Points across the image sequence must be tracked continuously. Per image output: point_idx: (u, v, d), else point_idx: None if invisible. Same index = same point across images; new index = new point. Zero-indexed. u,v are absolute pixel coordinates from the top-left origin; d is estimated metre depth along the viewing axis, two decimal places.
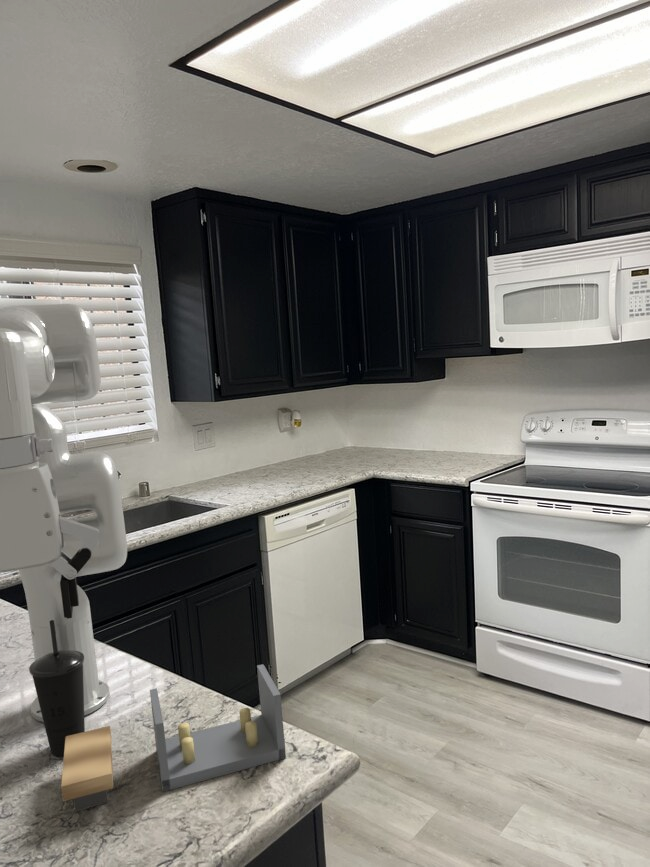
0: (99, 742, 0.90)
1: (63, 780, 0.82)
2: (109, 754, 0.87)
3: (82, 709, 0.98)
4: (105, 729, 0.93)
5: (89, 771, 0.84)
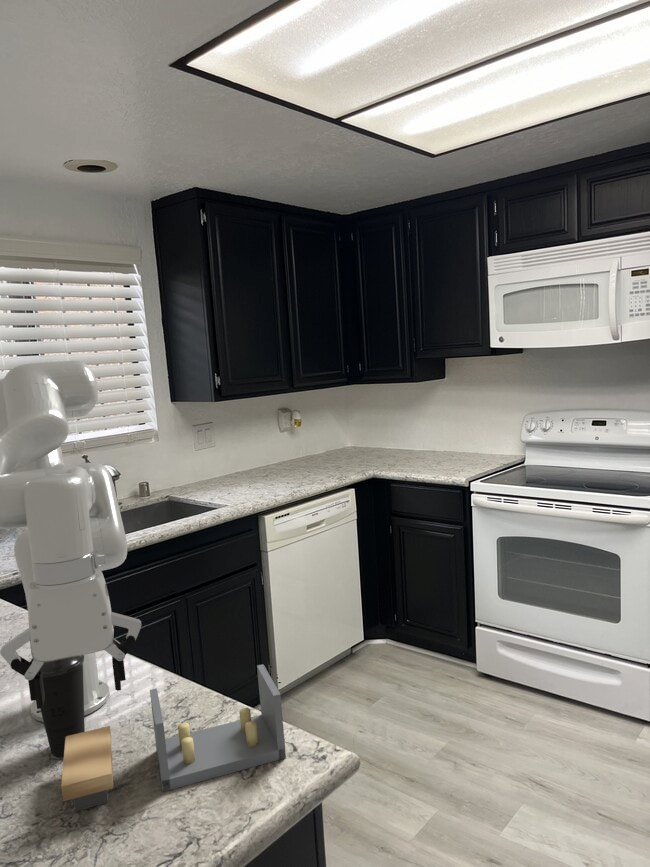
0: (99, 742, 0.90)
1: (63, 780, 0.82)
2: (109, 754, 0.87)
3: (82, 709, 0.98)
4: (105, 729, 0.93)
5: (89, 771, 0.84)
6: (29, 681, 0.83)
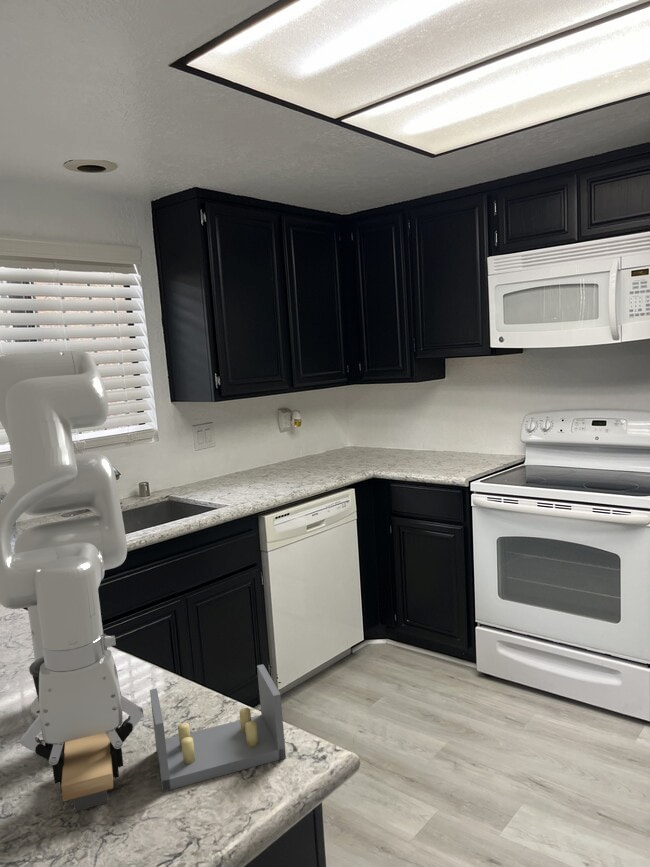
0: (99, 742, 0.90)
1: (63, 780, 0.82)
2: (109, 754, 0.87)
3: None
4: None
5: (89, 771, 0.84)
6: (53, 765, 0.86)
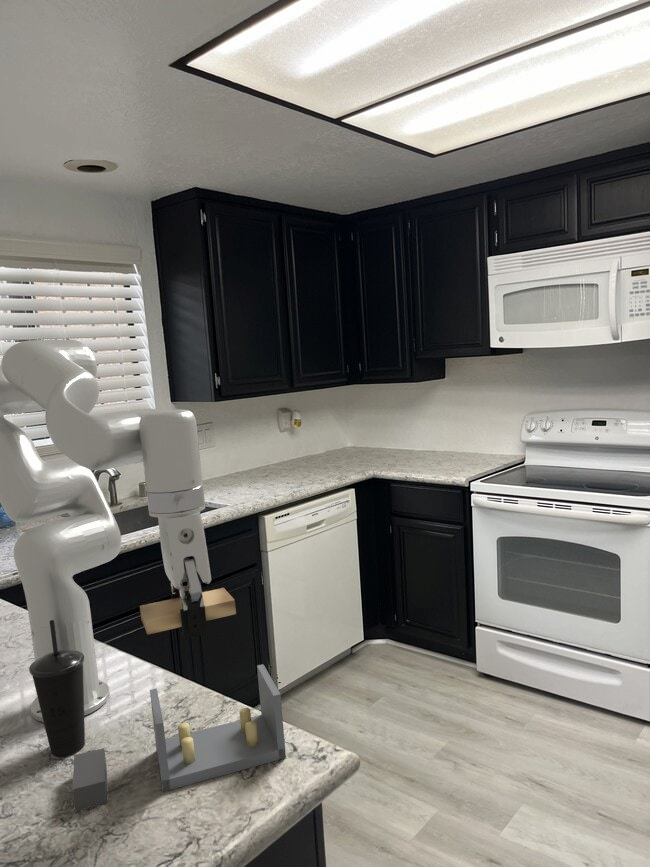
0: (205, 602, 0.90)
1: (148, 604, 0.91)
2: (179, 611, 0.87)
3: (82, 709, 0.98)
4: (228, 599, 0.90)
5: (156, 610, 0.88)
6: None
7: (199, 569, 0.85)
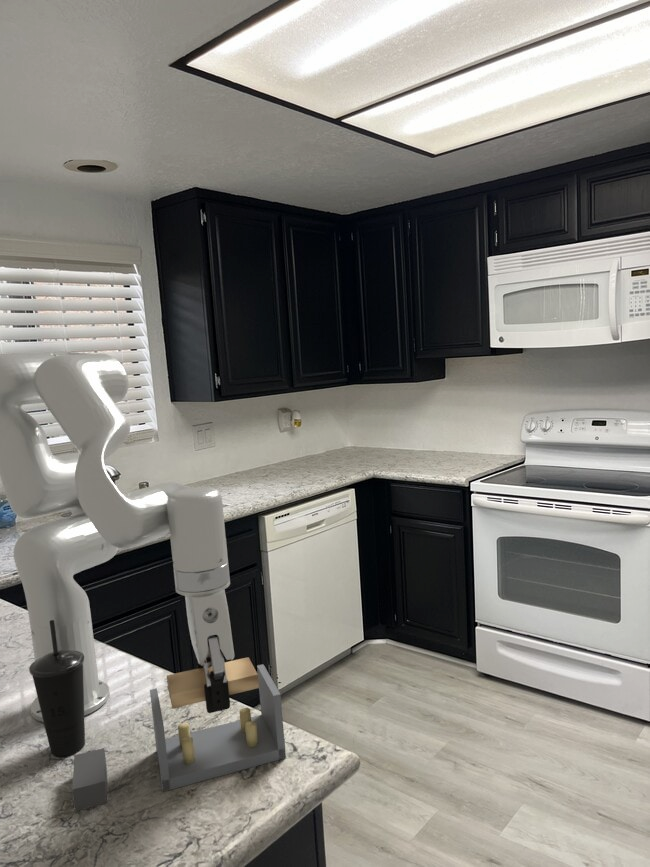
0: (229, 676, 0.92)
1: (175, 674, 0.94)
2: (203, 686, 0.89)
3: (82, 709, 0.98)
4: (251, 673, 0.92)
5: (182, 682, 0.91)
6: None
7: (222, 647, 0.87)
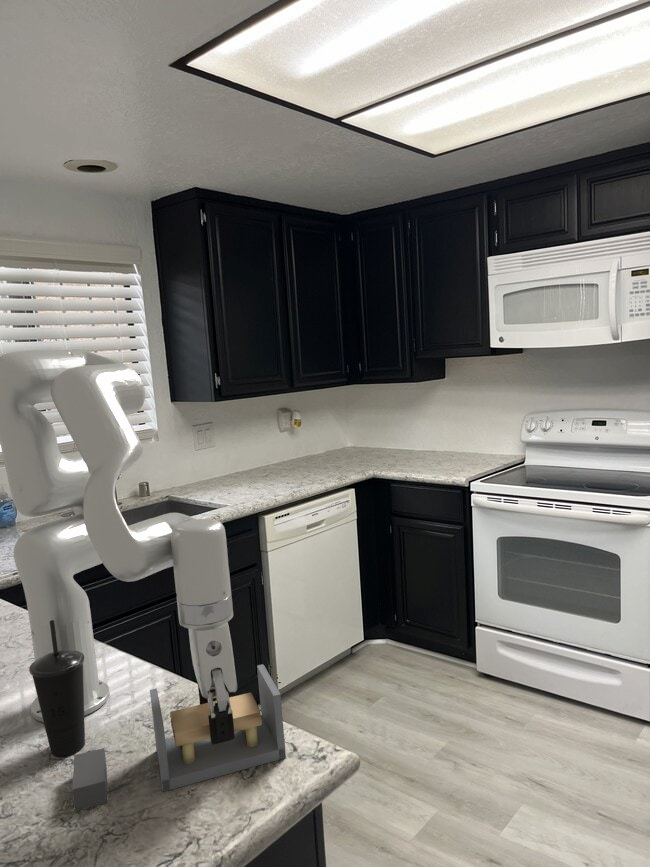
0: None
1: (178, 710, 0.94)
2: (207, 724, 0.90)
3: (82, 709, 0.98)
4: (254, 710, 0.93)
5: (185, 720, 0.91)
6: None
7: (226, 680, 0.88)
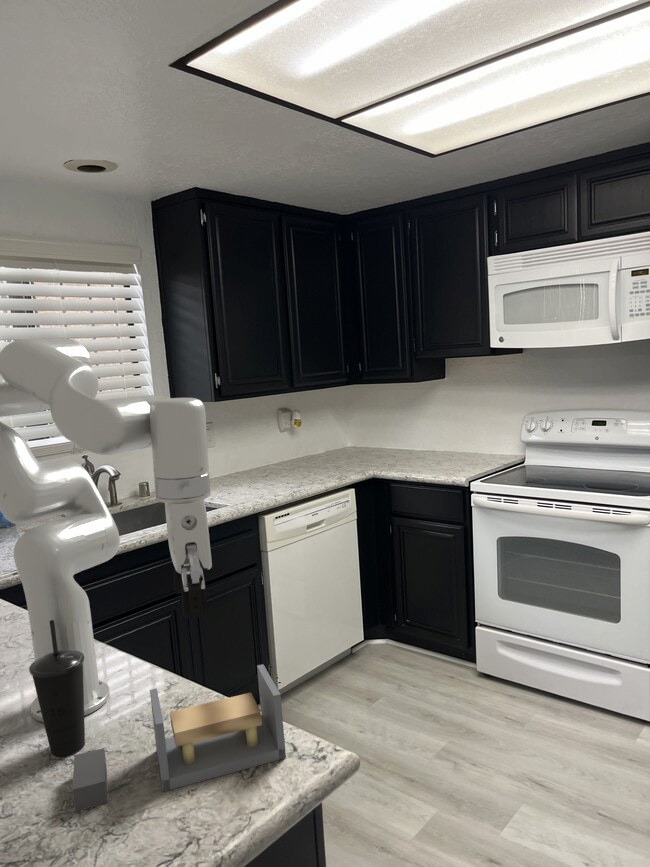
0: (232, 713, 0.92)
1: (178, 710, 0.94)
2: (207, 724, 0.90)
3: (82, 709, 0.98)
4: (254, 710, 0.93)
5: (185, 720, 0.91)
6: None
7: (200, 555, 0.88)
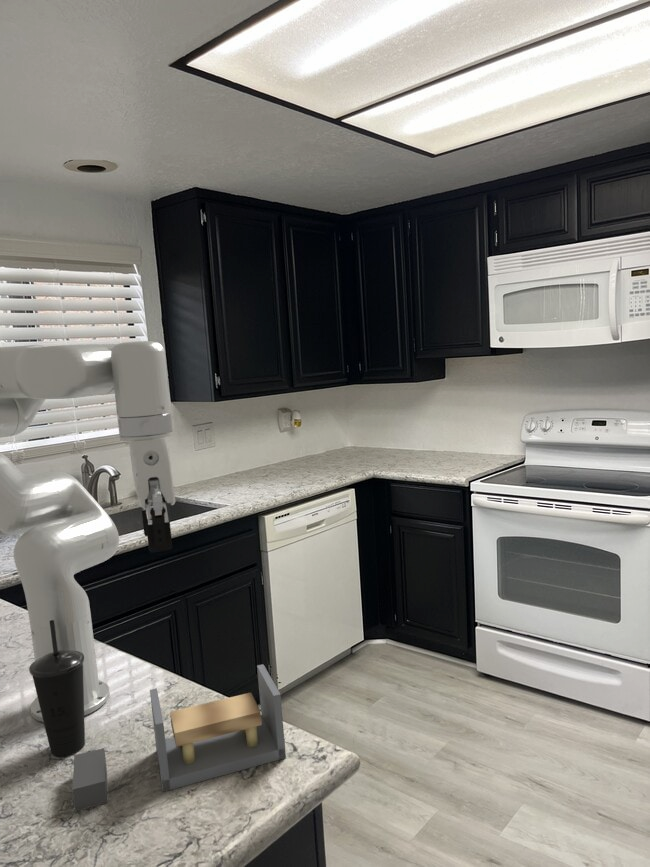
0: (232, 713, 0.92)
1: (178, 710, 0.94)
2: (207, 724, 0.90)
3: (82, 709, 0.98)
4: (254, 710, 0.93)
5: (185, 720, 0.91)
6: None
7: (163, 490, 0.91)
